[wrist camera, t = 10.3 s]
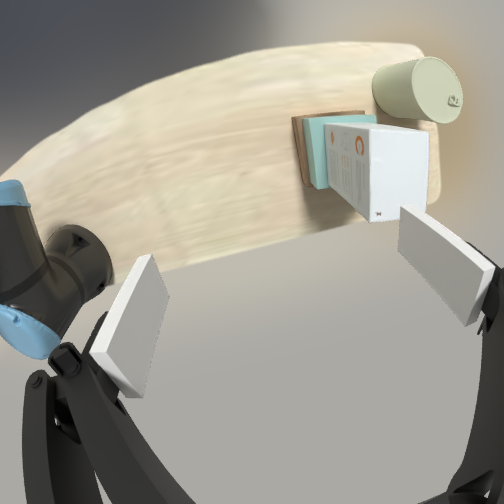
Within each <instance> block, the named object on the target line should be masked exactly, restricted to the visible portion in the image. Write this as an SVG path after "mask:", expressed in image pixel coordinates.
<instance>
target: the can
mask: <svg viewBox="0 0 504 504" xmlns="http://www.w3.org/2000/svg"><path fill="white" fill-rule="evenodd" d="M372 90H373V95H374V98H375V100H376V102H377V104H378V105H379V106H380V108H381V109H382V110H383V111H384V112H385V113H387V114H388V115H390V116H392V117H395V118H411V119H418V120H425V121H431V122H435V123H439V124H448V123H451V122H453V121H454V120H455V119H456V118H457V117H458V115H459V113H460V111H461V108H462V103H463V95H462V89H461V85H460V82H459V80H458V78H457V76H456V74H455V73H454V71H453V70H452V69H451V67H450V66H449V65H447V64H446V63H445V62H444V61H442V60H440V59H438V58H435V57H424V58H421V59H417V60H412V61H407V62H403V63H398V64H393V65H385V66H383V67H381V68H380V69H378V71H377V72H376V73H375V75H374V77H373V82H372Z"/></svg>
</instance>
